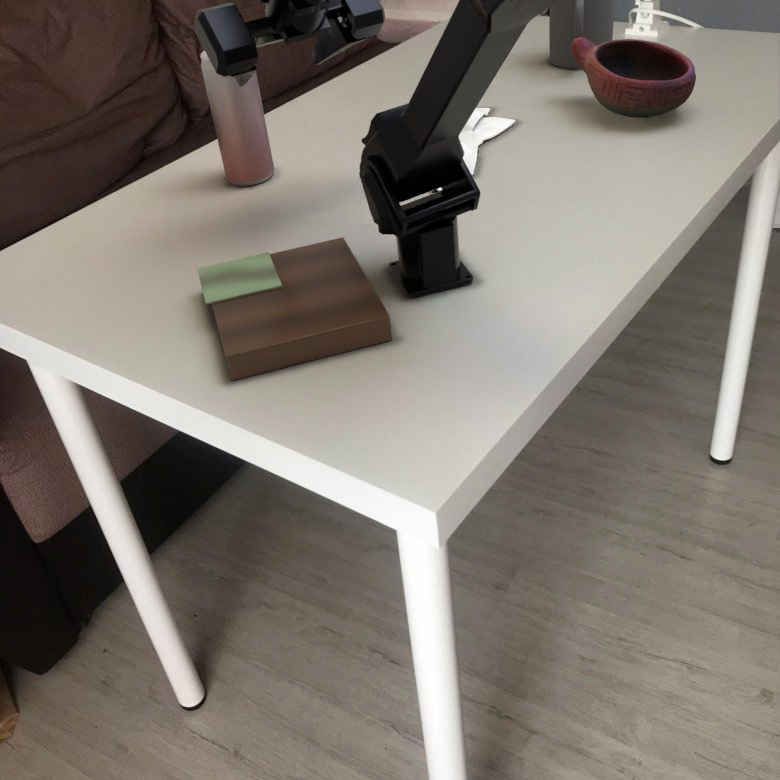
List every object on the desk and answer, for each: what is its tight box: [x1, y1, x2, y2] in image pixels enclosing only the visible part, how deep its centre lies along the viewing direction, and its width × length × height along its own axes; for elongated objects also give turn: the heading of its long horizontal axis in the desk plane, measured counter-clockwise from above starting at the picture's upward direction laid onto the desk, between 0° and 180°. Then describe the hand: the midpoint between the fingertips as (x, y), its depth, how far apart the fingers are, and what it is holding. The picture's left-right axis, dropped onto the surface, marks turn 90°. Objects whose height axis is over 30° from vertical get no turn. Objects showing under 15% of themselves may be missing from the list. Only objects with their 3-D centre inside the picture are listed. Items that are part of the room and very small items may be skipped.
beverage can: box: [199, 50, 275, 187], centre depth 102 cm, size 6×6×15 cm
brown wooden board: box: [196, 236, 393, 381], centre depth 78 cm, size 16×14×3 cm
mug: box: [548, 0, 616, 70], centre depth 124 cm, size 14×9×12 cm
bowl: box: [571, 37, 697, 119], centre depth 108 cm, size 16×13×8 cm
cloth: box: [435, 107, 516, 192], centre depth 107 cm, size 26×14×2 cm, turn 155°
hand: (277, 71), depth 93 cm, fingers open, 9 cm apart
